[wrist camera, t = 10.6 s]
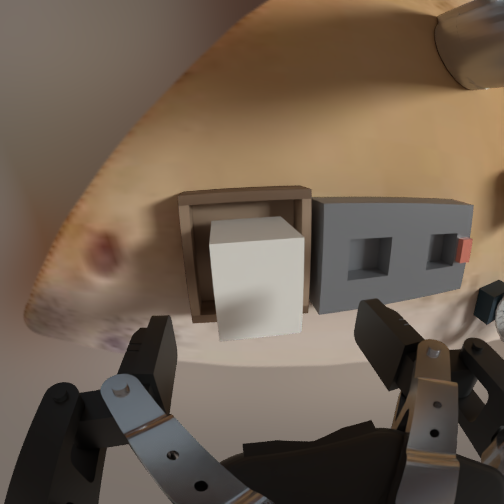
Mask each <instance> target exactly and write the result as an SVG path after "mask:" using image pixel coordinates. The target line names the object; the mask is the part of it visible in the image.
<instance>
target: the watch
mask: <svg viewBox="0 0 504 504" xmlns="http://www.w3.org/2000/svg"><path fill="white" fill-rule="evenodd" d="M474 316H476V317H477V318H479V319H480V320H481V321H483V322H484V323H485V324H486V325H487V324H489V323H491V322H492V321H494V320H495V325H496V328H497V332H498V334H499V336H500V339H501V341H503V342H504V329H503V328H504V318H503V317H504V282H502V281H500V280H497V281H495V282H493V283H491V284H489V285H486V286H484V287H482V288H480V289H479V294H478V299H477V303H476V307H475V311H474ZM500 323H501V324H500Z"/></svg>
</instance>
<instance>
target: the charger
mask: <svg viewBox="0 0 504 504" xmlns="http://www.w3.org/2000/svg"><path fill="white" fill-rule="evenodd" d="M209 248H210V258H211V269H212V279H213V288H214V297H215V306H216V315H217V323H218V332H219V340H220V341H229V340H241V339H251V338H261V337H270V336H278V335H286V334H294V333H301V332H302V314H303V287H304V237H303V236H302V235H301V234H300V233H299V232H298V231H297V230H296V229H294V228H293V227H292V226H291V225H290V224H289V223H288V222H287V221H285V220H284V219H283V218H282V217H281V216H277V217H261V218H245V219H231V220H218V221H211V231H210V241H209Z"/></svg>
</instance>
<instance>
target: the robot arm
mask: <svg viewBox="0 0 504 504" xmlns="http://www.w3.org/2000/svg"><path fill="white" fill-rule="evenodd" d="M437 18H438V25H437V26H436V29H435V41H436V46H437V49H438V52H439V54H440V56H441V58H442V61H443V62H444V64H445V66H446V68H447V69H448V70H449V72H450V73H451V75H452V76H453V77H454V78H455V79H456V80H457V82H459V83H460V84H461V85H462V86H464V87H465V88H467V89H470V90H479V89H489V88H499V87H504V0H474V1H471V2H469V3H466V4H464V5H461V6H459V7H457V8H454V9H452V10H450V11H447V12H445V13H443V14H441V15H439V16H437ZM354 337H355V341H356V343H357V345H358V346H359V348H360V349H361V351H362V352H363V354H364V355H365V357H366V358H367V359H368V361H369V362H370V364H371V365H372V367H373V368H374V370H375V371H376V373H377V374H378V376H379V377H380V379H381V380H382V382H383V383H384V385H385V386H386V388H387V389H388V391H391V390H395V389H398V388H400V390H401V392H400V394H399V397H398V401H397V405H396V410H395V414H394V418H393V422H392V426H391V429H388V428H375V426H374V424H373V422H372V421H371V420H370V421H367V422H363V423H360V424H356V425H352V426H348V427H344V428H341V429H340V430H338V431H335V432H333V433H331V434H329V435H327V436H325V437H322V438H320V439H318V440H315V441H310V442H307V441H306V442H305V441H304V442H303V441H280V440H275V441H267V442H258V443H247V444H243V453H240V454H237V455H234V456H232V457H229V458H228V459H225V460H223V461H221V462H220V463H219V462H218V461H217V460H216V459H215V458H214V457H213V456H212V455H211V454H210V453H209V452H208V451H207V450H205V448H203V447H202V446H201V445H200V444H199V442H197V441H196V439H195V438H193V436H192V435H191V434H190V433H189V432H188V431H187V430H186V429H185V428H184V427H183V426H182V425H181V424H180V423H179V422H178V420H177V419H176V418H175V417H174V416H173V415H171V414H169V413H170V406H171V398H172V391H173V384H174V378H175V371H176V365H177V346H176V341H175V336H174V331H173V325H172V320H171V317H170V315H165V316H152V317H151V319H150V322H149V324H148V327H147V328H140V329H139V330H138V331H136V332H135V333H134V334H133V336H132V338H131V340H130V343H129V345H128V348H127V352H126V353H125V355H124V358H123V360H122V363H121V366H120V368H119V371H118V373H117V375H114V376H112V377H110V378H108V379H107V380H106V381H105V382H104V383H103V384H102V386H101V389H100V390H96V391H90V392H84V393H79V391H78V389H77V388H76V386H75V385H73V384H71V383H66V382H62V383H57V384H55V385H53V386H51V387H50V388H49V389H48V390H47V391H46V393H45V394H44V396H43V399H42V401H41V403H40V405H39V407H38V410H37V412H36V414H35V416H34V419H33V421H32V424H31V426H30V428H29V431H28V433H27V436H26V438H25V441H24V443H23V446H22V449H21V451H20V454H19V457H18V460H17V463H16V465H15V469H14V471H13V475H12V478H11V481H10V484H9V488H8V492H7V495H6V499H5V503H4V504H98V501H99V493H100V487H101V480H102V473H103V467H104V461H105V455H106V450H107V447H113V446H119V445H126V444H129V445H130V447H131V449H132V450H133V451H134V453H135V455H136V456H137V457H138V459H139V460H140V462H141V463H142V465H143V466H144V467H145V469H146V470H147V472H148V473H149V474H150V476H151V477H152V478H153V479H154V481H155V482H156V483H157V485H158V486H159V487H160V489H161V490H162V491H163V492H164V494H165V495H166V496H167V497H168V499H169V500H170V501H171V502H172V503H173V504H504V360H503V359H502V358H501V357H500V356H499V355H498V354H497V353H496V352H495V351H494V350H493V349H492V348H491V347H490V346H489V345H488V344H487V343H486V342H485V341H483V340H481V339H478V338H468V339H466V340H465V341H464V344H463V346H462V349H459V350H449V349H448V347H447V346H446V345H445V344H443V343H442V342H440V341H437V340H432V339H428V340H424V339H423V338H422V336H421V335H420V334H419V333H418V332H417V331H416V330H415V329H414V328H413V327H412V326H411V325H409V323H408V322H407V321H406V320H404V319H403V317H402V316H401V315H400V314H398V313H397V312H396V311H394V310H392V309H390V308H388V307H386V306H385V305H384V304H383V303H382V302H381V301H380V300H379V299H377V298H374V299H367V300H361V301H360V303H359V306H358V312H357V318H356V323H355V329H354ZM477 380H479V381H480V382H481V383H482V385H483V386H484V387H485V388H486V390H487V391H488V394H489V398H488V401H487V403H486V405H485V404H484V403H483V402H482V400H481V399H480V398H479V397H478V395H477V394H476V393H475V392H474V390H473V387H474V385H475V384H476V382H477ZM458 423H459V424H460V426H461V428H462V429H463V431H464V432H465V434H466V435H467V437H468V438H469V440H470V441H471V443H472V445H473V446H474V448H475V449H476V451H477V452H478V454H479V456H480V458H481V463H480V462H478V461H475V460H471V459H469V458H466V457H463V456H461V455H458V454H456V449H457V434H458Z"/></svg>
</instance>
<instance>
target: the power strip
mask: <svg viewBox="0 0 504 504" xmlns="http://www.w3.org/2000/svg"><path fill="white" fill-rule="evenodd" d="M473 206H474V205H471V204H467V203H464V202H460V201H456V200H453V199H436V198H408V197H311V259H310V285H309V300H310V301H311V303H312V305H313V306H314V308H315V309H316V311H317V312H318V314H319V315H320V314H328V313H335V312H341V311H348V310H354V309H358V306H359V303H360V301H361V300H367V299H374V298H377V299H379V300H380V301H381V302H382V303H383V304H389V303H395V302H400V301H405V300H410V299H415V298H420V297H425V296H429V295H434V294H438V293H443V292H447V291H451V290H456V289H460V287H461V283H462V278H463V273H464V269H465V264H466V262H469V258H470V253H471V247H472V240H473V239H471V238H470V233H471V225H472V217H473Z"/></svg>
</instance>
